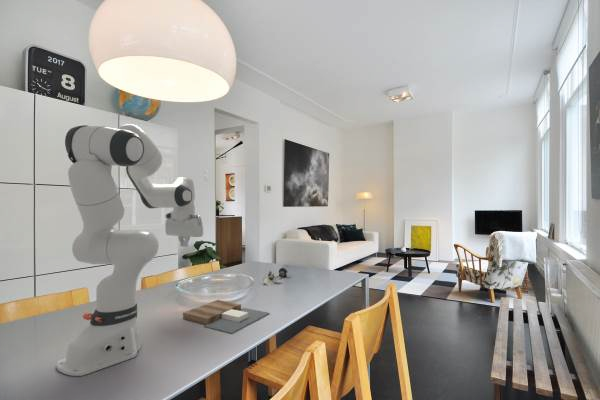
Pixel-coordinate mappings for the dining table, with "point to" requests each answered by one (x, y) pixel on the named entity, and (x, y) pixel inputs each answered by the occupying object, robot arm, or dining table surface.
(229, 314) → the white flat block
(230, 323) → the mat
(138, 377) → the dining table surface
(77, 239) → the robot arm
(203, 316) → the wooden board
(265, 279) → the artificial flower
